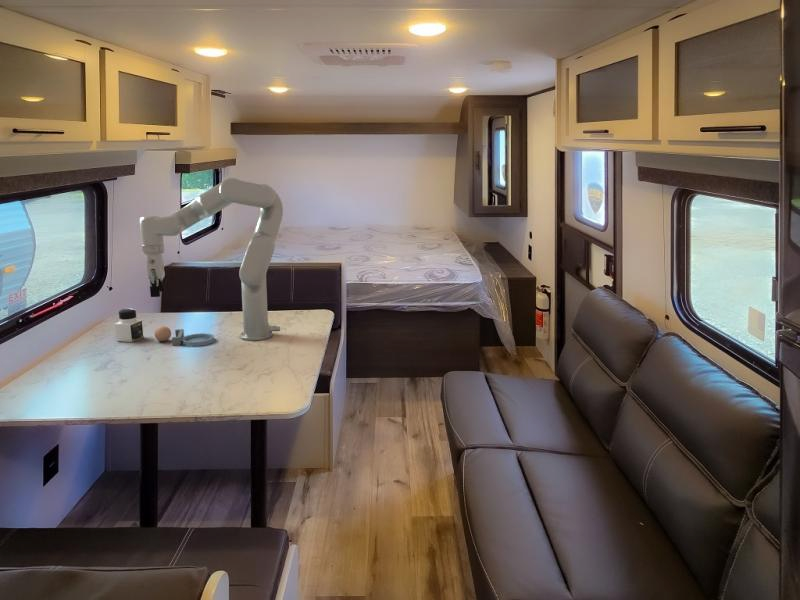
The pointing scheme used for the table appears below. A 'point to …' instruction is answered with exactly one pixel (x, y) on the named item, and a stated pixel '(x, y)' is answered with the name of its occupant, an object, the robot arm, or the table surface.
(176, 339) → the gate arch
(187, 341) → the dish
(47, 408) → the table surface
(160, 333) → the ball
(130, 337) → the medicine bottle
